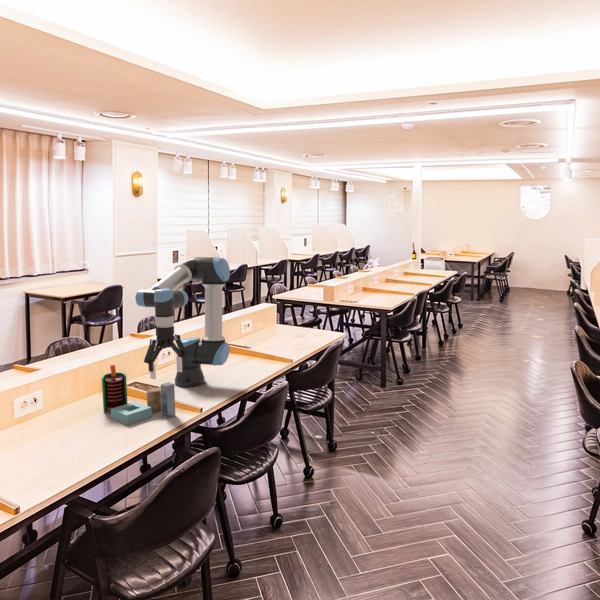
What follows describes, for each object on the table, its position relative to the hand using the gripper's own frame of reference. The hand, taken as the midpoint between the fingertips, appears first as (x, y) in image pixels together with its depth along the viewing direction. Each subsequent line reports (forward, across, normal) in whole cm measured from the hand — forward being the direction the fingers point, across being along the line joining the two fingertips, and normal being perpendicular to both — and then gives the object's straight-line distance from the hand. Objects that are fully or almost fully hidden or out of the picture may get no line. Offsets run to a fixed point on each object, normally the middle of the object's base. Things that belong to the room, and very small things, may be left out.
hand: (166, 375), depth 227 cm
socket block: (+18, +11, -11) cm, 24 cm away
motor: (+18, +10, -25) cm, 32 cm away
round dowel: (+18, 0, -10) cm, 21 cm away
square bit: (+18, 0, 0) cm, 18 cm away
